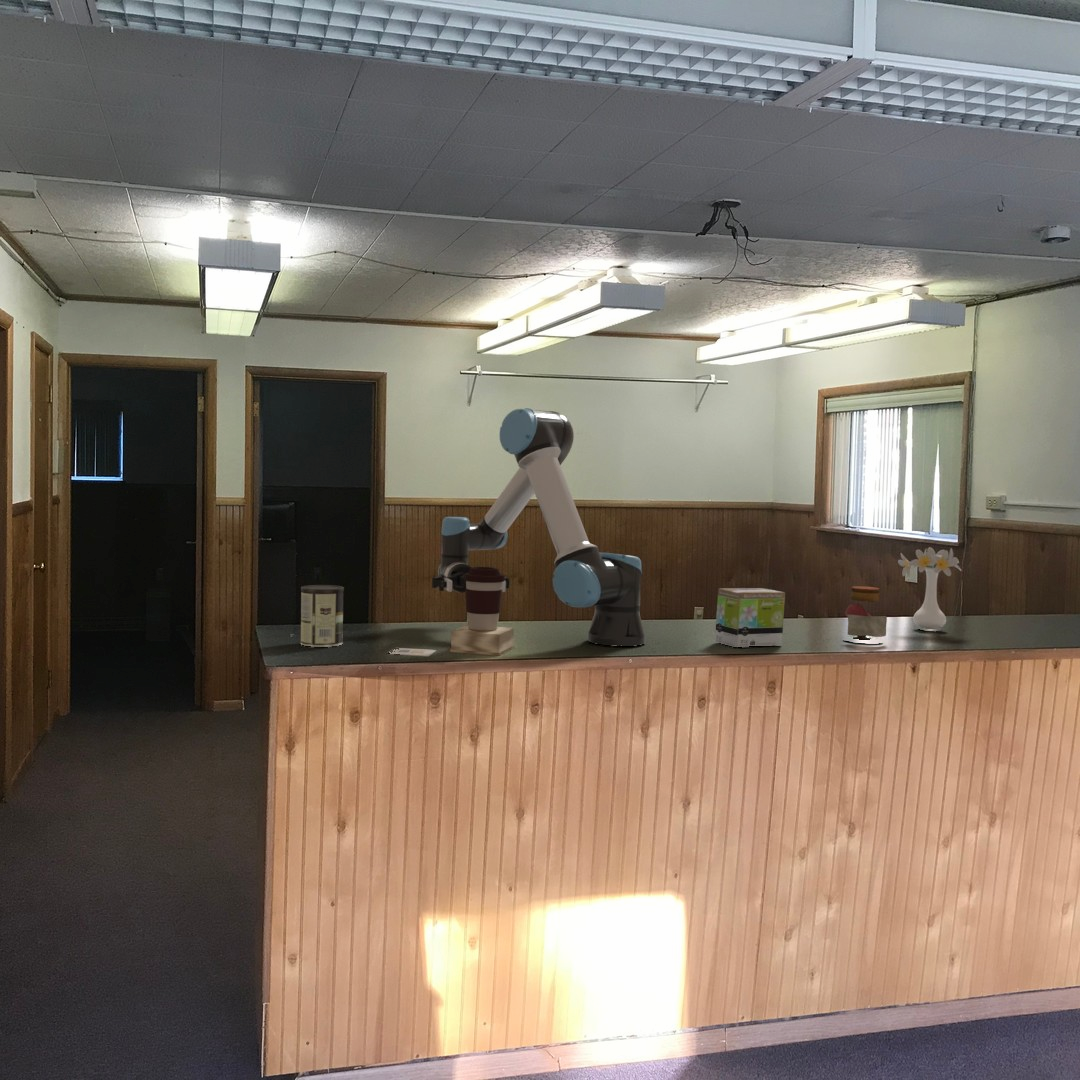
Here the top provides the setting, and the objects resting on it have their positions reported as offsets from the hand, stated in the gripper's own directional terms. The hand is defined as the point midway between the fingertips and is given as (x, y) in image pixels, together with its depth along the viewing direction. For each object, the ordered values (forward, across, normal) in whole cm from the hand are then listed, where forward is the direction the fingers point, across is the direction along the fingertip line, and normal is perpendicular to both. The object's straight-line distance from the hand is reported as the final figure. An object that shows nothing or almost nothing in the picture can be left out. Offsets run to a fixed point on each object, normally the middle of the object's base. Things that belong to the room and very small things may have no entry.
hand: (477, 586), depth 269 cm
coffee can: (-3, +38, -15) cm, 41 cm away
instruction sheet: (+10, +18, -15) cm, 25 cm away
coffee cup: (+7, 0, -10) cm, 12 cm away
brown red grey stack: (+2, -108, -15) cm, 109 cm away
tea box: (+5, -72, -15) cm, 74 cm away
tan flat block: (+8, 0, -15) cm, 16 cm away
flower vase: (-16, -142, -15) cm, 143 cm away
